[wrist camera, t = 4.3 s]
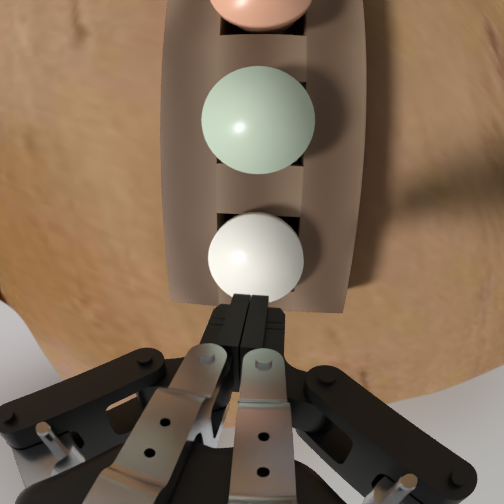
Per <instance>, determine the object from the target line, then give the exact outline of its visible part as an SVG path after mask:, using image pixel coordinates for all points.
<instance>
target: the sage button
mask: <svg viewBox="0 0 504 504" xmlns="http://www.w3.org/2000/svg"><path fill="white" fill-rule="evenodd" d="M201 120H202V130H203V134H204V137H205V140H206V142H207V144H208V146H209V148H210V149H211V151H212V152H213V153H214V154H215V156H216V157H217V158H218V159H219V160H221V161H222V162H223V163H224V164H226V165H227V166H229V167H231V168H233V169H235V170H238V171H241V172H244V173H249V174H267V173H272V172H276V171H279V170H281V169H284V168H286V167H287V166H289V165H291V164H292V163H293V162H295V161H296V160H297V159H298V158H299V157H300V156H301V155H302V154H303V153H304V151H305V150H306V149H307V147H308V145H309V143H310V141H311V139H312V136H313V132H314V127H315V113H314V107H313V104H312V101H311V99H310V97H309V95H308V93H307V92H306V90H305V89H304V87H303V86H302V85H301V84H300V83H299V82H298V81H297V80H296V79H295V78H293V77H292V76H290V75H289V74H287V73H285V72H283V71H281V70H278V69H275V68H271V67H266V66H251V67H245V68H241V69H238V70H236V71H234V72H231V73H229V74H228V75H226V76H225V77H223V78H222V79H221V80H220V81H218V83H217V84H216V85H215V86H214V87H213V88H212V90H211V91H210V92H209V94H208V96H207V98H206V100H205V103H204V106H203V110H202V119H201Z"/></svg>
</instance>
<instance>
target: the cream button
mask: <svg viewBox="0 0 504 504" xmlns="http://www.w3.org/2000/svg"><path fill="white" fill-rule="evenodd" d="M208 263H209V268H210V272H211V274H212V277H213V278H214V280H215V282H216V283H217V284H218V286H219V287H220V288H221V289H222V290H223V291H224V292H225V293H227V294H228V295H230V296H231V297H233V294H234V293H236V294H250V295H251V297H252V295H266V296H269V302H272V301H275V300H278V299H280V298H282V297H283V296H285V295H287V294H288V293H289V292H290V291H291V290H292V289H293V288H294V287H295V286H296V284H297V283H298V281H299V279H300V277H301V274H302V271H303V266H304V257H303V250H302V246H301V242H300V240H299V238H298V236H297V234H296V232H295V231H294V230H293V229H292V227H291V226H289V225H288V224H287V223H286V222H285V221H283V220H282V219H280V218H278V217H277V216H274V215H271V214H268V213H263V212H248V213H243V214H240V215H237V216H235V217H233V218H231V219H230V220H228V221H227V222H226V223H224V224H223V225H222V226H221V228H220V229H219V230H218V232H217V233H216V235H215V236H214V238H213V240H212V242H211V244H210V247H209V252H208Z"/></svg>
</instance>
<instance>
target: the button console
mask: <svg viewBox="0 0 504 504" xmlns="http://www.w3.org/2000/svg"><path fill="white" fill-rule="evenodd" d="M251 66H266V67H271V68H275V69H278V70H281V71H283V72H285V73H287V74H289V75H290V76H292V77H293V78H295V79H296V80H297V81H298V82H299V83H300V84H301V85H302V86H303V87H304V89H305V90H306V92H307V93H308V95H309V97H310V99H311V101H312V104H313V107H314V113H315V127H314V132H313V136H312V139H311V141H310V143H309V145H308V147H307V149H306V150H305V151H304V153H303V154H302V155H301V162H293V163H292V164H291V165H289V166H287V167H286V168H284V169H281V170H279V171H276V172H272V173H267V174H249V173H244V172H241V171H238V170H235V169H233V168H231V167H229V166H227V165H226V164H224V163H223V162H222V161H221V160H219V159H218V158H217V157H216V156H215V154H214V153H213V152H212V151H211V149H210V148H209V146H208V144H207V142H206V140H205V137H204V134H203V130H202V120H201V119H202V110H203V106H204V103H205V100H206V98H207V96H208V94H209V92H210V91H211V90H212V88H213V87H214V86H215V85H216V84H217V83H218V81H220V80H221V79H222V78H223V77H225V76H226V75H228V74H229V73H231V72H234V71H236V70H238V69H241V68H245V67H251ZM365 127H366V40H365V22H364V8H363V0H312V3H311V5H310V7H309V9H308V10H307V11H306V13H305V14H304V15H303V36H299V35H279V34H240V35H229V22H228V21H226V20H225V19H223V18H222V17H221V16H220V15H219V14H218V13H217V11H216V10H215V8H214V6H213V5H212V3H211V1H210V0H168V1H167V10H166V20H165V31H164V43H163V58H162V78H161V115H160V146H161V184H162V205H163V221H164V235H165V248H166V259H167V269H168V279H169V288H170V297H171V301H172V302H181V303H191V304H202V305H213V306H219V305H220V304H230V303H231V300H232V297H231V296H230V295H228V294H227V293H225V292H224V291H223V290H222V289H221V288H220V287H219V286H218V284H217V283H216V282H215V280H214V278H213V277H212V274H211V272H210V268H209V263H208V252H209V247H210V244H211V242H212V240H213V238H214V236H215V235H216V233H217V232H218V230H219V229H220V228H221V226H222V225H223V224H224V223H226V213H227V214H243V213H248V212H263V213H268V214H271V215H274V216H290V217H297V230H296V234H297V236H298V238H299V240H300V242H301V246H302V250H303V257H304V266H303V271H302V274H301V277H300V279H299V281H298V283H297V284H296V286H295V287H294V288H293V289H292V290H291V291H290V292H289V293H288V294H287V295H285V296H283V297H282V298H280V299H278V300H275V301H272V302H269V307H274V308H281V310H282V311H300V312H323V313H343V309H344V304H345V299H346V293H347V288H348V282H349V276H350V270H351V264H352V258H353V251H354V244H355V237H356V230H357V222H358V214H359V205H360V196H361V185H362V174H363V161H364V146H365Z"/></svg>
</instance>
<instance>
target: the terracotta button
mask: <svg viewBox="0 0 504 504" xmlns="http://www.w3.org/2000/svg"><path fill="white" fill-rule="evenodd" d="M210 1H211V3H212V5H213V6H214V8H215V10H216V11H217V13H218V14H219V15H220V16H221V17H222V18H223V19H225V20H226V21H228V22H229V23H231V24H233V25H236V26H238V27H239V28H241V29H242V30H244V31H246V32H249V33H252V34H277V33H280V32H282V31H284V30H286V29H288V28H289V27H291V26H292V25H293V24H294V23H295V22H296V20H298V19H299V18H300V17H301V16H303V15H304V14H305V13H306V11H307V10H308V9H309V7H310V5H311V3H312V0H210Z"/></svg>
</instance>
